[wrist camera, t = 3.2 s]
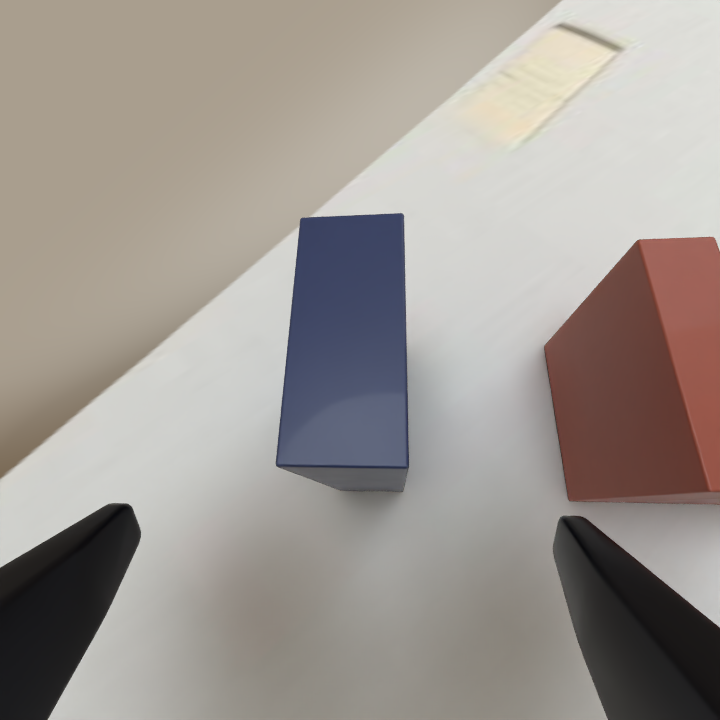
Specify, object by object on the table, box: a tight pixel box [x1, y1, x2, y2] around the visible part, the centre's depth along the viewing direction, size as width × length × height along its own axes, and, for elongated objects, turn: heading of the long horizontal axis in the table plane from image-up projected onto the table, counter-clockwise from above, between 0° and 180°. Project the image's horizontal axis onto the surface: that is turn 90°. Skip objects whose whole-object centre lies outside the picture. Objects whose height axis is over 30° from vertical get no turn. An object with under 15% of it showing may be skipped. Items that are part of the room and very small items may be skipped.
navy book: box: [276, 213, 409, 492], centre depth 16 cm, size 8×3×11 cm, turn 179°
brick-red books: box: [544, 237, 720, 505], centre depth 15 cm, size 8×7×9 cm
